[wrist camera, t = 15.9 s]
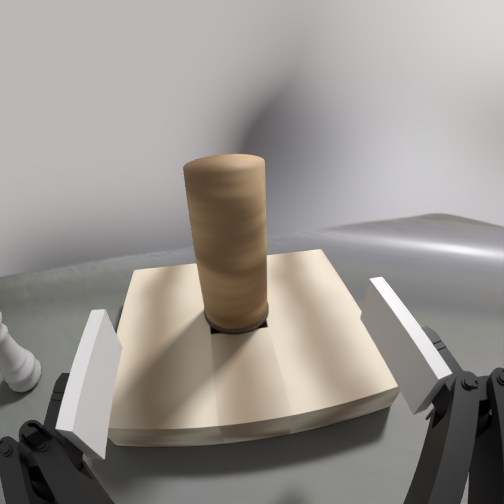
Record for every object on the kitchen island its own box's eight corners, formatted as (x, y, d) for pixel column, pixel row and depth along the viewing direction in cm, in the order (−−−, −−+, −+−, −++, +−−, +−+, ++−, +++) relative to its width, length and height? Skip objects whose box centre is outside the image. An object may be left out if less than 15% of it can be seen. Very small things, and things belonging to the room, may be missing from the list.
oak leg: (263, 313, 28) (258, 151, 20) (274, 354, 23) (274, 170, 16) (208, 320, 27) (184, 158, 20) (211, 363, 23) (178, 179, 15)
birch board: (318, 272, 33) (321, 249, 32) (390, 405, 18) (404, 384, 16) (141, 292, 31) (134, 270, 30) (115, 445, 16) (97, 427, 14)
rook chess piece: (46, 358, 22) (8, 293, 18) (39, 394, 18) (-10, 329, 14) (15, 361, 21) (-24, 299, 17) (5, 395, 17) (-42, 333, 13)
